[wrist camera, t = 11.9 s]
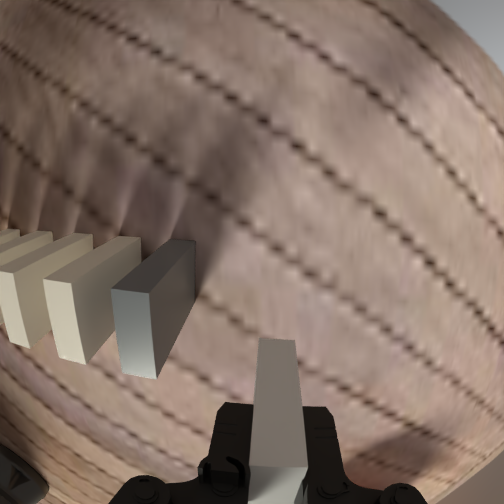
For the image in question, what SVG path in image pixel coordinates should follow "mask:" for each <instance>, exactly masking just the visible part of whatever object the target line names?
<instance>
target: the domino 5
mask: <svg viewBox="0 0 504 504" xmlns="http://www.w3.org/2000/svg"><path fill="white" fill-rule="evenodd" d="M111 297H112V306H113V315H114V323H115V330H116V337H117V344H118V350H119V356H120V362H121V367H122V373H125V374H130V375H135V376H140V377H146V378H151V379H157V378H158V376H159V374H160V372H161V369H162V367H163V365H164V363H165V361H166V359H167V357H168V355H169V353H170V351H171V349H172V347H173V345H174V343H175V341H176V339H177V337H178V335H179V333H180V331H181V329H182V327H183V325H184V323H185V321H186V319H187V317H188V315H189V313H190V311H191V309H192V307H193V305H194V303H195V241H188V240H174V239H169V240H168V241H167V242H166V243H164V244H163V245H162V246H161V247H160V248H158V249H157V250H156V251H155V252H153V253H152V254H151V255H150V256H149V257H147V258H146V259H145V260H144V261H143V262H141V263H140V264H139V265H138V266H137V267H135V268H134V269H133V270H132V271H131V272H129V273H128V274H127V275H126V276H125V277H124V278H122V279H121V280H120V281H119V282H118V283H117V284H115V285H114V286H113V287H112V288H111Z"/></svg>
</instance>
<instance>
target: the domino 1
mask: <svg viewBox="0 0 504 504" xmlns="http://www.w3.org/2000/svg"><path fill="white" fill-rule="evenodd" d="M19 237H20V229H5V230H2V231H0V245H1V244H4V243H6V242H9V241H11V240H14V239H16V238H19Z"/></svg>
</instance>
